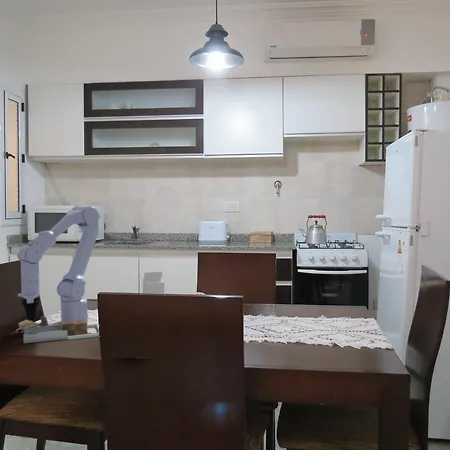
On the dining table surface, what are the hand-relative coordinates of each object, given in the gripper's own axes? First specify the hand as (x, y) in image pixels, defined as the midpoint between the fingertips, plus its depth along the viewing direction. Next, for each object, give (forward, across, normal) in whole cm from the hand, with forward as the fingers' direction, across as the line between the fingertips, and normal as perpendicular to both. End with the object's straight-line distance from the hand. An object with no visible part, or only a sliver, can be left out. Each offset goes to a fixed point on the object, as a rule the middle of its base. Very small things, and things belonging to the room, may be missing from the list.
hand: (31, 319), depth 157 cm
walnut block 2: (+4, +10, +16) cm, 19 cm away
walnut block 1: (+4, +10, +12) cm, 16 cm away
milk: (+5, +23, +38) cm, 44 cm away
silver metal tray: (+4, +10, +4) cm, 12 cm away
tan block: (+2, +3, +3) cm, 5 cm away
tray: (+4, +10, +16) cm, 20 cm away
